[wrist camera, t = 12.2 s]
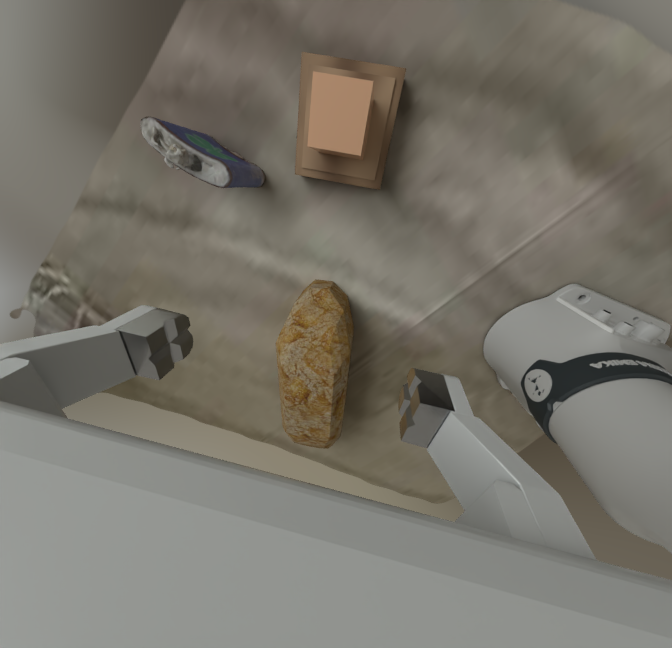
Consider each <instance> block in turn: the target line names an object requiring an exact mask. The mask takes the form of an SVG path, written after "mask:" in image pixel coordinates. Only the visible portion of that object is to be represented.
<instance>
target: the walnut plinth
mask: <svg viewBox="0 0 672 648" xmlns="http://www.w3.org/2000/svg"><path fill="white" fill-rule="evenodd" d="M313 71H315V72H321V73H327V74H333V75H339V76H345V77H351V78H357V79H363V80H369V81H374V102H373V108H372V114H371V119H370V125H369V131H368V136H367V142H366V147H365V153H364V159H363V160H360V159H354V158H349V157H343V156H337V155H332V154H326V153H321V152H317V151H315V150H313V149H312V148H310V147H308V146H307V145H308V131H309V118H310V105H311V91H312V78H313ZM405 72H406V68H400V67H394V66H387V65H381V64H375V63H369V62H362V61H356V60H350V59H344V58H337V57H331V56H325V55H319V54H312V53H306V52H302V57H301V75H300V93H299V111H298V129H297V147H296V165H295V174H296V175H301V176H307V177H312V178H317V179H323V180H328V181H334V182H339V183H345V184H350V185H356V186H361V187H367V188H372V189H378V190H380V186H381V182H382V177H383V173H384V168H385V164H386V159H387V154H388V150H389V145H390V141H391V136H392V132H393V127H394V122H395V118H396V113H397V109H398V104H399V100H400V95H401V90H402V86H403V81H404V77H405Z"/></svg>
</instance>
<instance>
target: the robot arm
mask: <svg viewBox="0 0 672 648" xmlns="http://www.w3.org/2000/svg"><path fill="white" fill-rule="evenodd" d="M581 295H582V296H581ZM580 296H581V297H580ZM579 297H580V298H579ZM189 327H190V321H189V317H187V316H186V315H184V314H180V313H176V312H172V311H168V310H164V309H160V308H156V307H152V306H148V305H141V306H139V307H137V308H135V309H133V310H131V311H129V312H127V313H125V314H123V315H121V316H119V317H117V318H115V319H113V320H111V321H109V322H107V323H105V324H103V325H101V326H90V327H84V328H79V329H74V330H69V331H64V332H59V333H54V334H48V335H43V336H38V337H33V338H28V339H23V340H18V341H12V342H7V343H2V344H0V648H672V580H668V579H665V578H661V577H657V576H653V575H650V574H646V573H642V572H639V571H635V570H631V569H627V568H623V567H620V566H616V565H612V564H609V563H605V562H601V561H598V560H596V558H595V557H594V555H593V553H592V551H591V550H590V548H589V546H588V544H587V542H586V541H585V539H584V537H583V535H582V534H581V532H580V530H579V528H578V526H577V524H576V523H575V521H574V519H573V517H572V516H571V514H570V512H569V510H568V509H567V507H566V505H565V503H564V501H563V500H562V498H561V496H560V495H559V494H558V493H557V492H556V491H555V490H554V489H553V488H552V487H551V486H550V485H549V484H548V483H547V482H546V481H545V480H544V479H543V478H542V477H541V476H540V475H538V474H537V473H536V472H535V471H534V470H533V469H532V468H531V467H530V466H529V465H528V464H527V463H526V462H525V461H524V460H522V459H521V457H520V456H519V455H517V454H516V453H515V452H514V451H513V450H512V449H511V448H510V447H509V446H508V445H507V444H506V443H505V442H504V441H503V440H502V439H501V438H500V437H499V436H498V435H496V434H495V433H494V432H493V431H492V430H491V429H490V428H489V427H488V426H487V425H486V424H485V423H484V422H483V421H482V420H481V419H480V418H477V417H474V415H473V413H472V410H471V408H470V405H469V403H468V400H467V398H466V395H465V392H464V390H463V387H462V385H461V382H460V380H459V379H458V378H457V377H454V376H449V375H444V374H437V373H433V372H428V371H424V370H420V369H415V368H411V369H410V371H409V373H408V375H407V380H408V383H407V384H405V385H403V387H402V390H401V392H400V397H399V413H400V414H401V416H402V419H401V421H400V435H401V441H403V442H407V443H410V444H414V445H417V446H421V447H424V448H427V451H428V452H429V454H430V455H431V457H432V459H433V460H434V462H435V464H436V465H437V467H438V468H439V470H440V472H441V473H442V475H443V476H444V478H445V480H446V481H447V483H448V485H449V486H450V488H451V489H452V491H453V493H454V494H455V496H456V498H457V499H458V501H459V502H460V504H461V506H462V507H463V509H464V510H465V512H464V513H463V514H462V515H461V516H460V517H459V518H458V519H457V520H456V521H455V522H452V521H448V520H444V519H440V518H437V517H433V516H429V515H426V514H422V513H418V512H415V511H411V510H407V509H403V508H400V507H396V506H392V505H389V504H384V503H381V502H377V501H373V500H370V499H366V498H362V497H359V496H355V495H351V494H348V493H344V492H340V491H336V490H332V489H329V488H325V487H321V486H318V485H314V484H310V483H306V482H303V481H299V480H295V479H292V478H288V477H284V476H280V475H276V474H273V473H269V472H265V471H262V470H258V469H254V468H251V467H247V466H243V465H239V464H236V463H232V462H228V461H224V460H221V459H217V458H213V457H209V456H206V455H202V454H198V453H194V452H191V451H187V450H183V449H179V448H176V447H172V446H168V445H164V444H161V443H157V442H153V441H149V440H146V439H142V438H138V437H134V436H131V435H127V434H123V433H120V432H116V431H112V430H108V429H105V428H101V427H97V426H94V425H90V424H86V423H82V422H79V421H75V420H71V419H68V418H67V416H66V415H65V413H64V412H63V410H62V409H63V408H65V407H67V406H69V405H72V404H74V403H76V402H78V401H81V400H83V399H85V398H88V397H90V396H92V395H94V394H96V393H99V392H101V391H103V390H106V389H108V388H110V387H113V386H115V385H117V384H119V383H122V382H124V381H126V380H128V379H131V378H133V377H135V376H136V375H138V376H143V377H147V378H152V379H156V380H160V379H162V378H163V377H164V376H165V375H166V374H167V373H168V372H170V371H171V370H172V369H173V368H174V364H175V362H177V361H180V360H183V359H184V358H185V357H186V356H187V355H188V354H189V353H190V351H191V349H192V347H193V336H192V334H191V333H190V332H189V331H188V328H189ZM670 330H671V326H670V325H669V324H668V323H666V322H665V321H663V320H661V319H659V318H657V317H654V316H652V315H650V314H647V313H645V312H643V311H640V310H638V309H635V308H633V307H631V306H628V305H626V304H624V303H621V302H619V301H617V300H614V299H612V298H610V297H607V296H605V295H603V294H600V293H598V292H596V291H593V290H591V289H589V288H586V287H584V286H582V285H579V284H570V285H567V286H565V287H563V288H561V289H560V290H558V291H556V292H555V293H553V294H551V295H550V296H548V297H545V298H542V299H539V300H536V301H532V302H529V303H526V304H523V305H521V306H519V307H517V308H515V309H513V310H511V311H510V312H508V313H507V314H505V315H504V316H503V317H501V318H500V319H499V320H498V321H497V322H496V323H495V324H494V325H493V326H492V328H491V329H490V331H489V332H488V334H487V336H486V338H485V341H484V347H483V352H484V357H485V359H486V361H487V363H488V364H489V365H490V366H491V367H492V368H493V370H494V371H495V372H496V373H497V379H498V382H499V384H500V385H501V386H502V387H503V388H504V389H509V390H510V391H511V392H512V394H513V395H514V396H515V397H516V399H517V400H518V401H519V402H520V403H521V405H522V406H523V407H524V408H525V410H526V411H527V412H528V413H529V414H530V415H532V416H533V417H534V418H535V420H536V423H537V424H538V426H539V427H540V428H541V430H542V431H543V432H545V434H546V435H547V436H548V437H549V438H550V439H551V440H552V441H553V442H554V443H556V444H558V445H559V447H560V448H561V450H562V451H563V452H564V454H565V455H566V457H567V458H568V460H569V461H570V463H571V464H572V466H573V467H574V468H575V470H576V471H577V473H578V474H579V476H580V477H581V479H582V480H583V482H584V483H585V484H586V486H587V487H588V489H589V490H590V492H591V493H592V495H593V496H594V497H595V499H596V500H597V502H598V503H599V505H600V506H601V508H602V509H603V510H604V511H605V512H606V514H607V515H609V516H610V517H611V518H612V519H613V520H614V521H615V522H616V523H617V524H619V525H620V526H621V527H623V528H624V529H626V530H628V531H629V532H631V533H633V534H635V535H637V536H639V537H641V538H643V539H645V540H647V541H650V542H653V543H656V544H658V545H661V546H663V547H664V548H666V549H667V550H668V551H669V552H670V553H672V348H671V347H669V346H667V345H665V343H666V341H667V339H668V337H669V334H670Z"/></svg>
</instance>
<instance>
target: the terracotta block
mask: <svg viewBox="0 0 672 648" xmlns="http://www.w3.org/2000/svg"><path fill="white" fill-rule="evenodd" d="M373 102H374V81H369V80H363V79H357V78H351V77H345V76H339V75H333V74H327V73H321V72H315V71H313V78H312V91H311V105H310V118H309V131H308V145H307V146H308V147H310V148H312V149H313V150H315V151H317V152H321V153H326V154H332V155H337V156H343V157H349V158H354V159H360V160H363V159H364V153H365V147H366V142H367V136H368V131H369V125H370V119H371V114H372V108H373Z"/></svg>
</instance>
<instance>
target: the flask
mask: <svg viewBox="0 0 672 648" xmlns="http://www.w3.org/2000/svg"><path fill="white" fill-rule="evenodd" d="M141 131H142V135H143V137H144V139H145V140H146V141H147V142H148V143H149V144H150V145H151V146H152V147H153V148H154V149H156V150H157V151H158V152H159V153H160V154H161V155H163V156H164V157H165V159H164V160H165V162H166V163H167V165H168V166H169V167H171V168H174V166H173V164H174V165H176V166H177V167H179V168H180V169H182V170H184V171H185V172H187V173H189V174H190V175H192V176H194V177H196V178H198V179H200V180H202V181H205V182H207V183H209V184H211V185H214V186H217V187H221V188H232V187H260V186H261V185H262V184H263V183H264V180H265V174H264V173H263V171H262V170H261V169H260V168H259V167H258V166H256V164H254V163H253V164H252V163H249V162H248V161H246V160H245V159H244V158H243V157H242V156H240V154H237V153H236V152H231V151H229V150H228V149H227V147H225V146H222V145H220V144H219V142H218V141H216V140H215V139H214V138H213V137H211V136H210V135H208V134H204V133H200V132H197V131H193V130H190V129H188V128H185V127H181V126H178V125H175V124H171V123H169V122H165V121H161V120H159V119H156V118H154V117H145V118H143V119H141ZM168 160H169V161H168ZM179 168H176V169H177V170H180V169H179Z"/></svg>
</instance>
